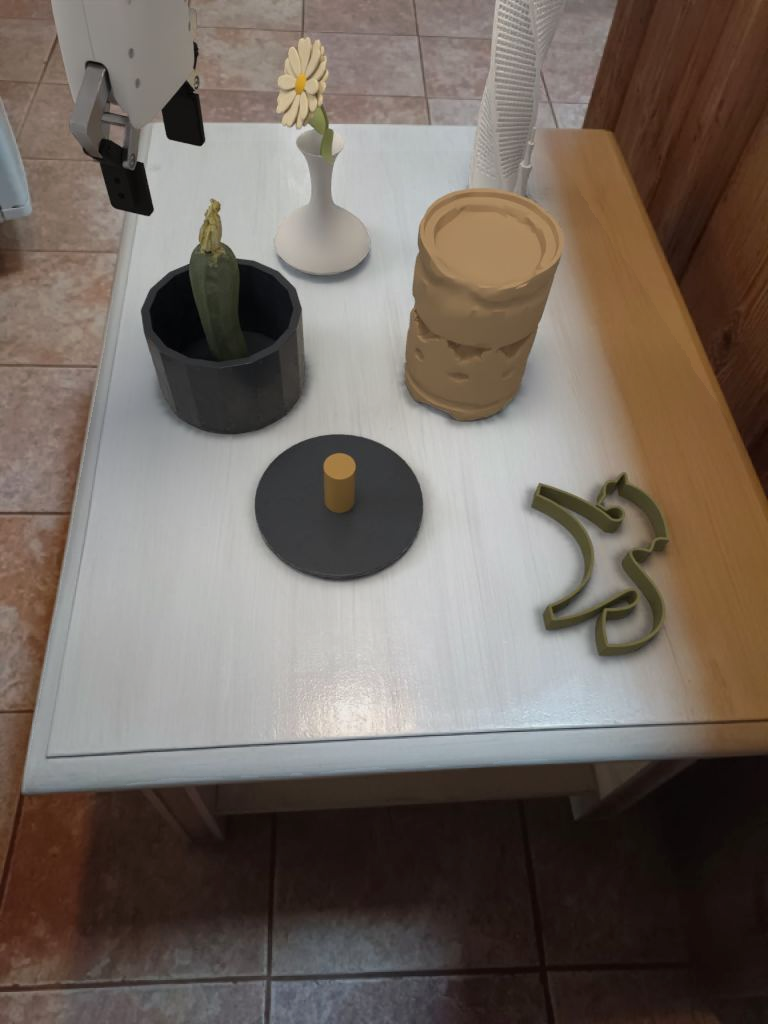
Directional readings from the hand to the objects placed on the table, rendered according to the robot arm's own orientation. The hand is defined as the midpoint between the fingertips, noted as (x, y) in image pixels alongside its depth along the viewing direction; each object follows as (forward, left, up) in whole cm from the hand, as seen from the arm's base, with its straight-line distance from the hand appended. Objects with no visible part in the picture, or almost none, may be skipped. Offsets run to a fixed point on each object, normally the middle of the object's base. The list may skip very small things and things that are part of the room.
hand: (161, 174), depth 57 cm
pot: (+2, -3, -23) cm, 23 cm away
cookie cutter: (+12, -42, -23) cm, 50 cm away
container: (+20, -19, -23) cm, 35 cm away
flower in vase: (+22, +5, -23) cm, 32 cm away
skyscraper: (+45, -2, -23) cm, 50 cm away
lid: (-1, -22, -22) cm, 31 cm away
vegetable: (+2, -3, -22) cm, 23 cm away
